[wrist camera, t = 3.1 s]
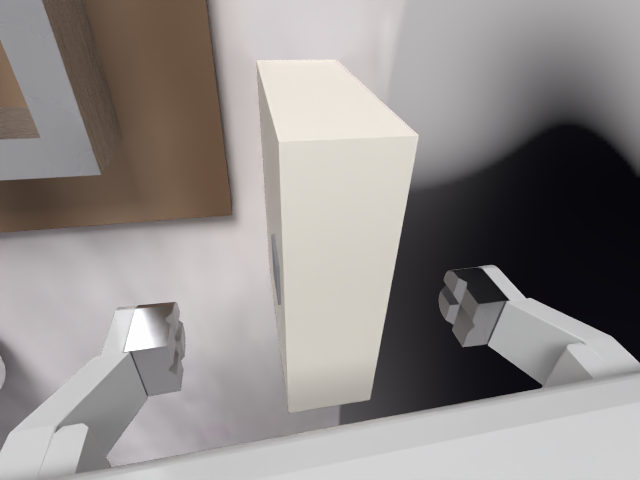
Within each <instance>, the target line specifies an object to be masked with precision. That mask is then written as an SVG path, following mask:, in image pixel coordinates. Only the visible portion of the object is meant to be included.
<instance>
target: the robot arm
mask: <svg viewBox="0 0 640 480" xmlns="http://www.w3.org/2000/svg"><path fill="white" fill-rule="evenodd" d="M444 282H445V283H446V286H445V287H444V288H443V289H442V290H441V292H440V296H439V307H440V310H441V313H442V315H443V316H444V318H445V319H446V320H447V321H448V322H450V323H452V324H453V329H452V331H453V332H454V334H455V336H456V337H457V339H458V340H459V342H460V343H461V345H462V347H467V346H475V345H483V344H488V346H490V347H491V348H493V349H494V350H495V351H497V352H498V353H499V354H501V355H502V356H504V357H505V358H506V359H508V360H509V361H510V362H512V363H513V364H515V365H516V366H517V367H519V368H520V369H521V370H523V371H524V372H526V373H527V374H528V375H530V376H531V377H533V378H534V379H535V380H537V381H538V382H539V383H541V384H542V385H543V386H542V388H541V389H536V390H531V391H526V392H520V393H514V394H509V395H503V396H498V397H492V398H487V399H482V400H477V401H471V402H466V403H460V404H455V405H450V406H444V407H438V408H433V409H427V410H422V411H417V412H411V413H406V414H400V415H395V416H390V417H384V418H379V419H373V420H368V421H363V422H357V423H351V424H346V425H340V426H335V427H329V428H324V429H318V430H313V431H307V432H302V433H296V434H291V435H285V436H280V437H274V438H269V439H263V440H258V441H253V442H247V443H242V444H236V445H231V446H225V447H220V448H214V449H209V450H203V451H198V452H193V453H187V454H182V455H176V456H171V457H165V458H160V459H154V460H149V461H143V462H138V463H132V464H127V465H122V466H116V467H111V465H110V464H109V462H108V460H107V458H106V455H107V454H108V453H109V451H110V450H111V449H112V447H113V446H114V444H115V443H116V442H117V440H118V439H119V438H120V436H121V435H122V433H123V432H124V431H125V429H126V428H127V427H128V425H129V424H130V422H131V421H132V420H133V418H134V417H135V416H136V414H137V413H138V411H139V410H140V409H141V407H142V406H143V405H144V403H145V402H146V400H147V399H148V396H154V395H159V394H165V393H170V392H176V391H181V385H182V377H183V367H182V363H181V360H182V359H183V357H184V356H185V332H184V327H183V323H182V322H180V321H179V314H180V311H179V307H178V304H177V303H176V302H170V303H159V304H148V305H138V306H131V307H120V308H117V310H116V311H115V312H114V315H113V318H112V321H111V324H110V327H109V330H108V333H107V336H106V339H105V342H104V346H103V349H102V352H101V355H100V356H96V357H93V358H92V359H91V360H90V361H89V362H88V363H87V364H85V365H84V366H83V367H82V368H81V369H80V370H79V371H78V372H77V373H75V374H74V375H73V376H72V377H71V378H70V379H69V380H68V381H67V382H65V383H64V384H63V385H62V386H61V387H60V388H59V389H58V390H57V391H55V392H54V393H53V394H52V395H51V396H50V397H49V398H48V399H47V400H46V401H44V402H43V403H42V404H41V405H40V406H39V407H38V408H37V409H36V410H34V411H33V412H32V413H31V414H30V415H29V416H28V417H27V418H26V419H24V420H23V421H22V422H21V423H20V424H19V425H18V426H17V427H16V428H14V429H13V430H12V431H11V432H10V433H9V435H8V437H7V439H6V441H5V443H4V445H3V447H2V450H1V452H0V480H640V363H639V362H638V361H637V360H636V359H635V358H634V357H633V356H632V355H630V354H629V353H628V352H627V351H626V350H625V349H624V348H623V347H622V346H621V345H620V344H619V343H618V342H617V341H616V340H615V339H613V337H611V336H609V335H607V334H605V333H603V332H601V331H599V330H597V329H595V328H592V327H590V326H588V325H586V324H584V323H582V322H580V321H577V320H575V319H573V318H571V317H569V316H567V315H565V314H563V313H561V312H558V311H556V310H554V309H552V308H550V307H548V306H546V305H544V304H542V303H539V302H537V301H535V300H533V299H531V298H529V299H526V298H525V297H524V296H523V295H522V294H521V293H520V292H519V290H518V289H517V288H516V287H515V286H514V285H513V284H512V283H511V282H510V281H509V280H508V279H507V277H506V276H505V275H504V274H503V273H502V272H501V271H500V270H499V269H498V268H497V267H496V266H494V265H489V266H481V267H476V268H475V267H474V268H466V269H458V270H450V271H448V272H447V273H446V274H445V278H444Z"/></svg>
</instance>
